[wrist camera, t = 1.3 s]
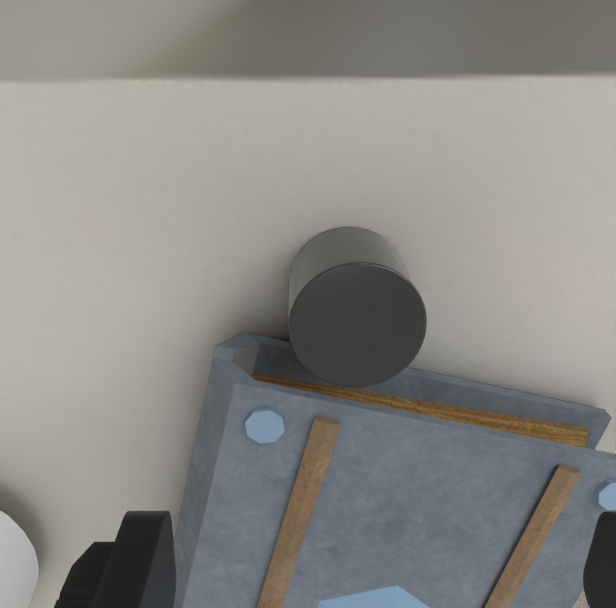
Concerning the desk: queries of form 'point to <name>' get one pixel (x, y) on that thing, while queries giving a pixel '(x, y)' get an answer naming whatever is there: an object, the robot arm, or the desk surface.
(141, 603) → the robot arm
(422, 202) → the desk surface
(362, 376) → the dark grey cylinder
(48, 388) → the desk surface
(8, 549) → the cup
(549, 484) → the book
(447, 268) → the desk surface
